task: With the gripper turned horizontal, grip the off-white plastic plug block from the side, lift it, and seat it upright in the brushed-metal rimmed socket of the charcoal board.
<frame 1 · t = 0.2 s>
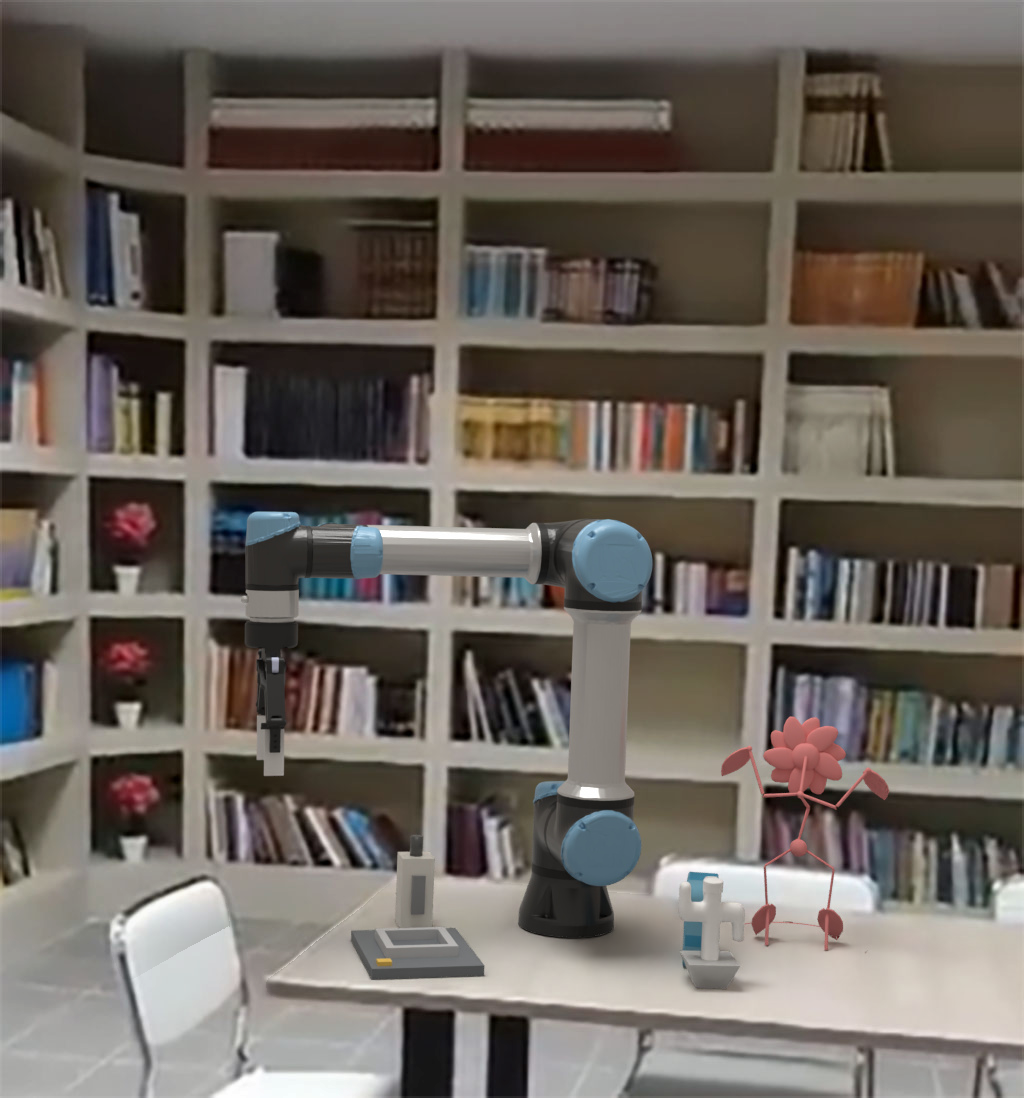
hand: (269, 767, 237), 28 cm above the table, tool pointing down, fingers open, 13 cm apart
pink flower stick figure: (796, 938, 261), on the table
plug: (413, 924, 259), on the table
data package: (698, 960, 246), on the table
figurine: (708, 984, 234), on the table
dock: (415, 957, 241), on the table
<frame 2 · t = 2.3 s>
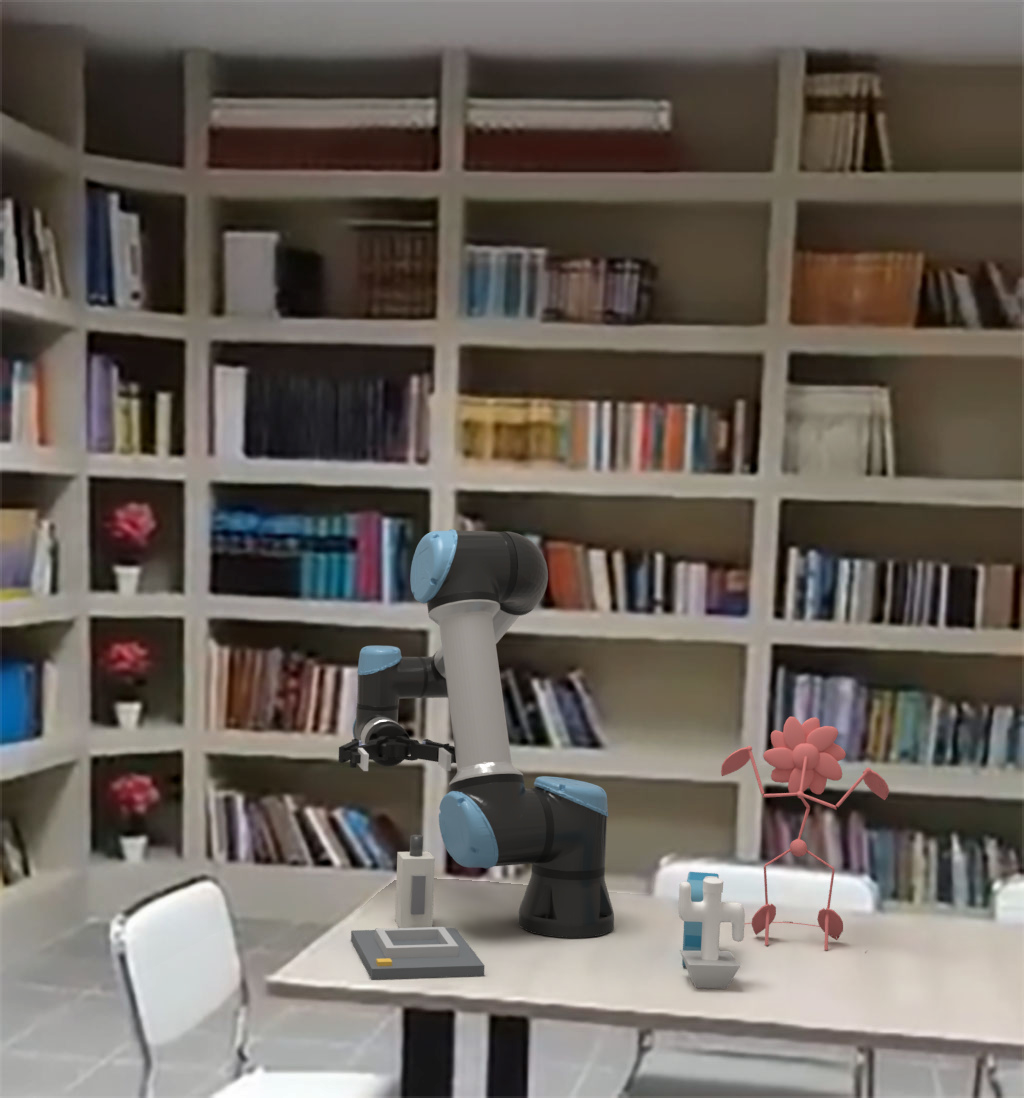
hand: (407, 762, 268), 24 cm above the table, tool horizontal, fingers open, 13 cm apart
nothing on the table moved.
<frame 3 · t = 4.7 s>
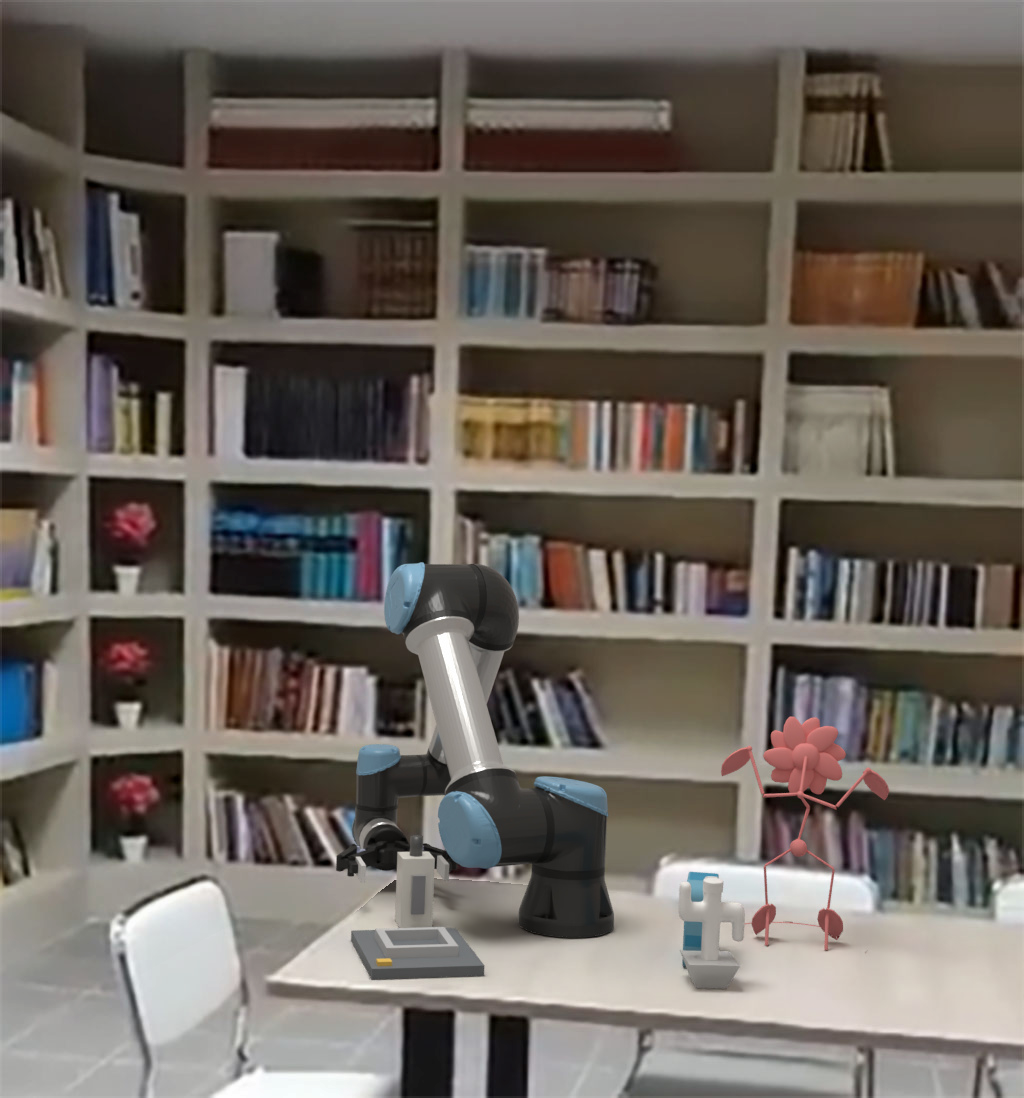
hand: (405, 873, 266), 6 cm above the table, tool horizontal, fingers open, 13 cm apart
nothing on the table moved.
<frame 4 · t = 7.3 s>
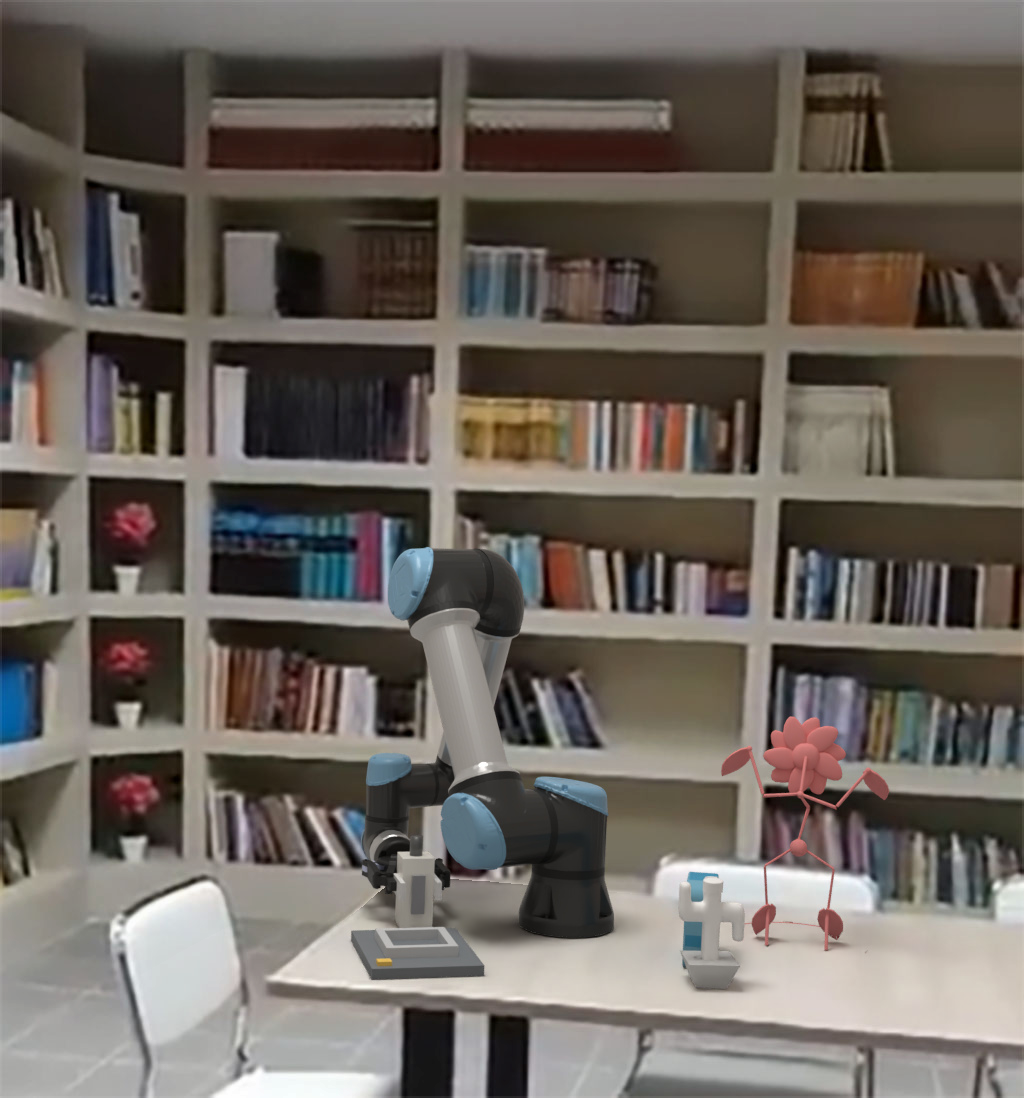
hand: (421, 891, 254), 7 cm above the table, tool horizontal, fingers closed on plug, 5 cm apart
plug: (413, 924, 259), on the table, touching gripper
everything else where it was.
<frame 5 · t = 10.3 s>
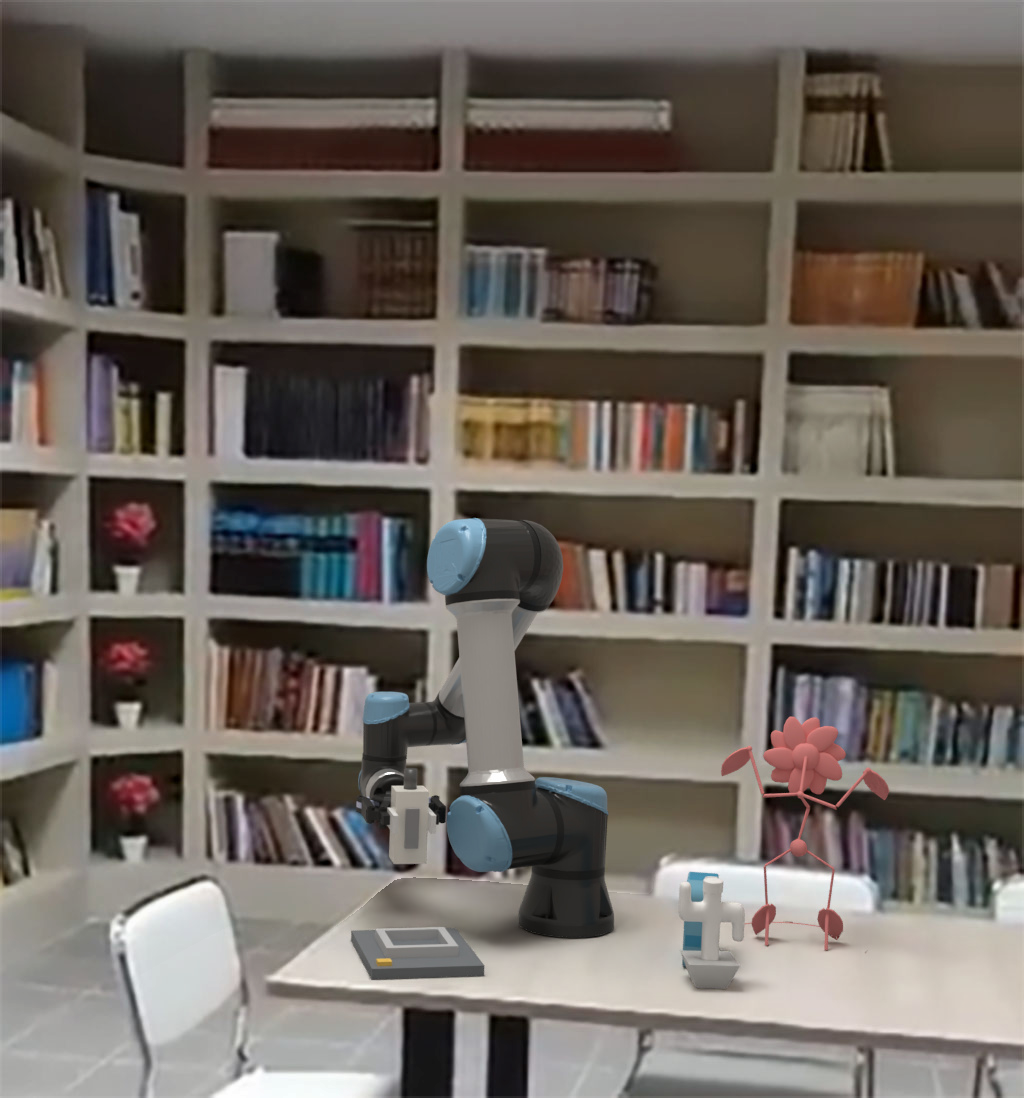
hand: (414, 824, 247), 18 cm above the table, tool horizontal, fingers closed on plug, 5 cm apart
plug: (407, 860, 253), point 12 cm above the table, touching gripper
everything else where it was.
when the fingers open (10 cm above the table, at t = 13.4 s): plug drops 2 cm, resting on dock.
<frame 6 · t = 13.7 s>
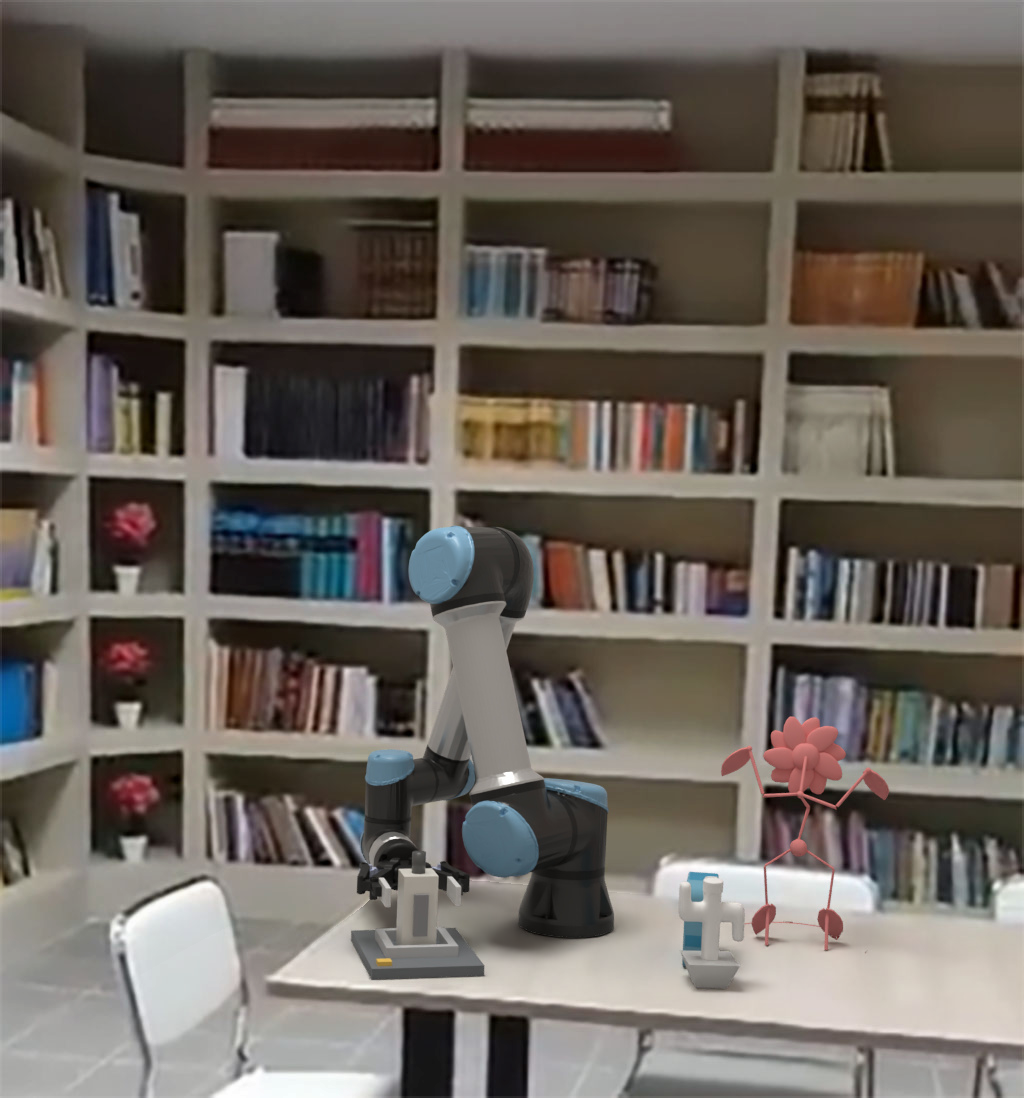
hand: (423, 897, 237), 10 cm above the table, tool horizontal, fingers open, 9 cm apart
plug: (415, 947, 241), point 1 cm above the table, touching dock
everything else where it was.
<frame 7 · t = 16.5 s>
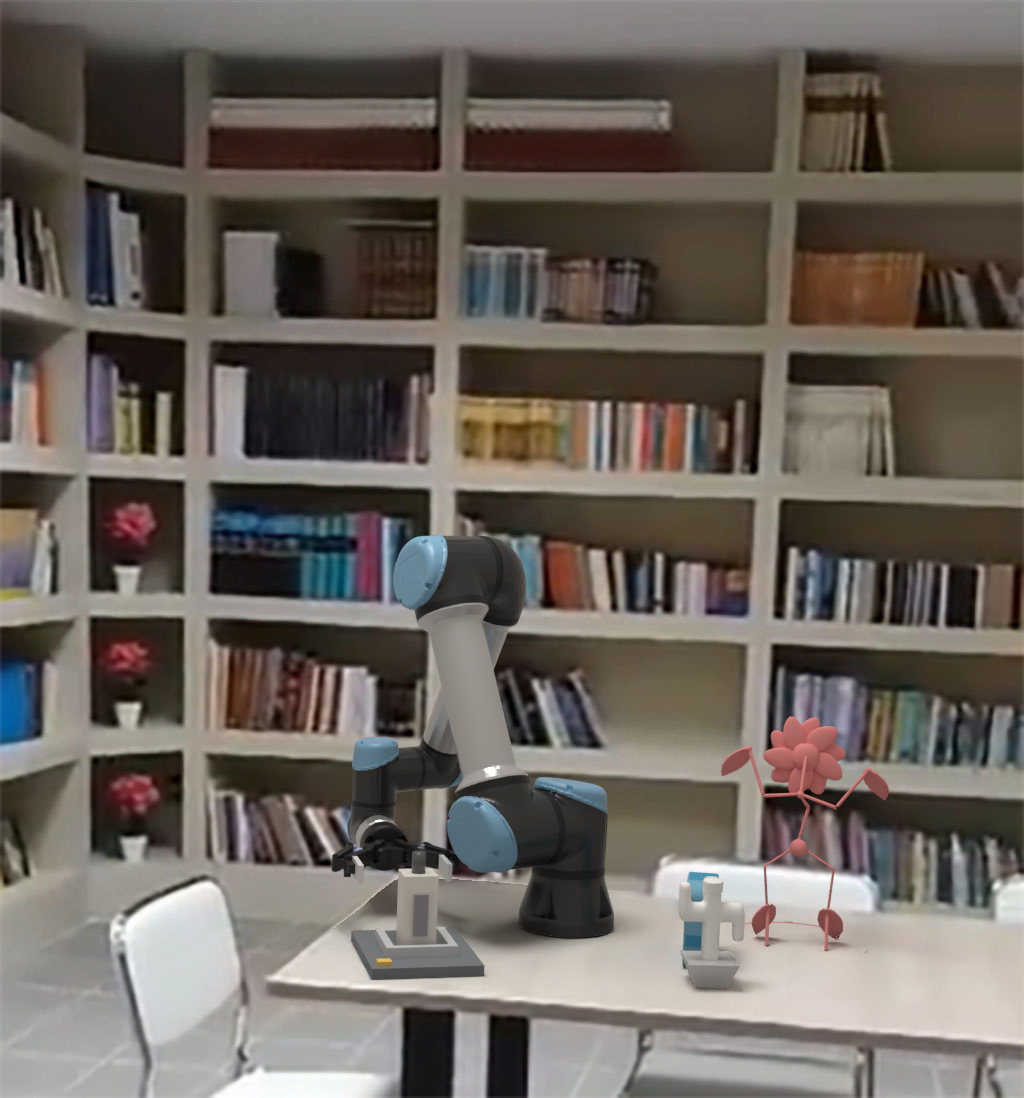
hand: (405, 873, 250), 10 cm above the table, tool horizontal, fingers open, 13 cm apart
nothing on the table moved.
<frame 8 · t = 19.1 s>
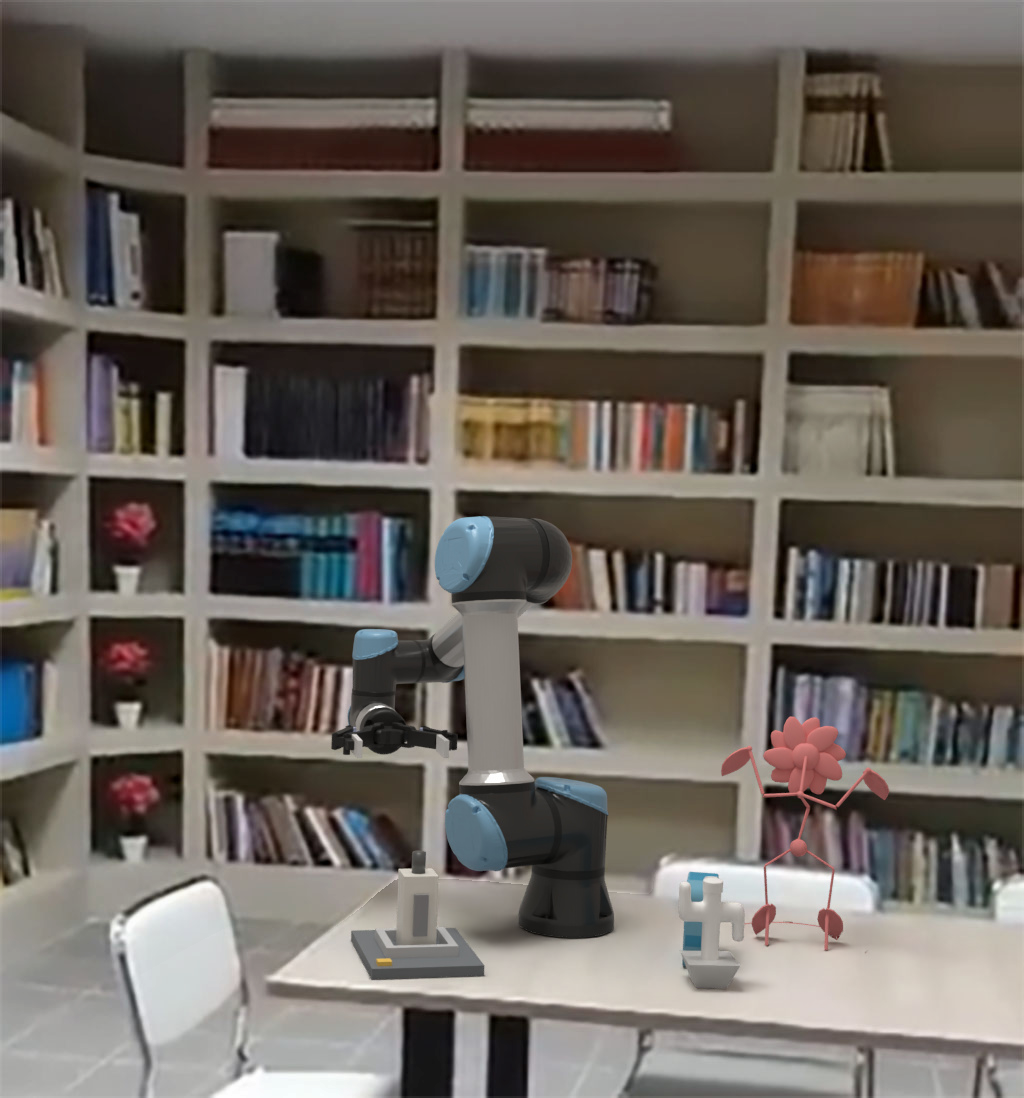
hand: (403, 749, 255), 28 cm above the table, tool horizontal, fingers open, 13 cm apart
nothing on the table moved.
at the end: plug 0.1 cm off-centre on the dock, point 1.5 cm above the dock's base; plug tilted 0°; the gripper is holding nothing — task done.
